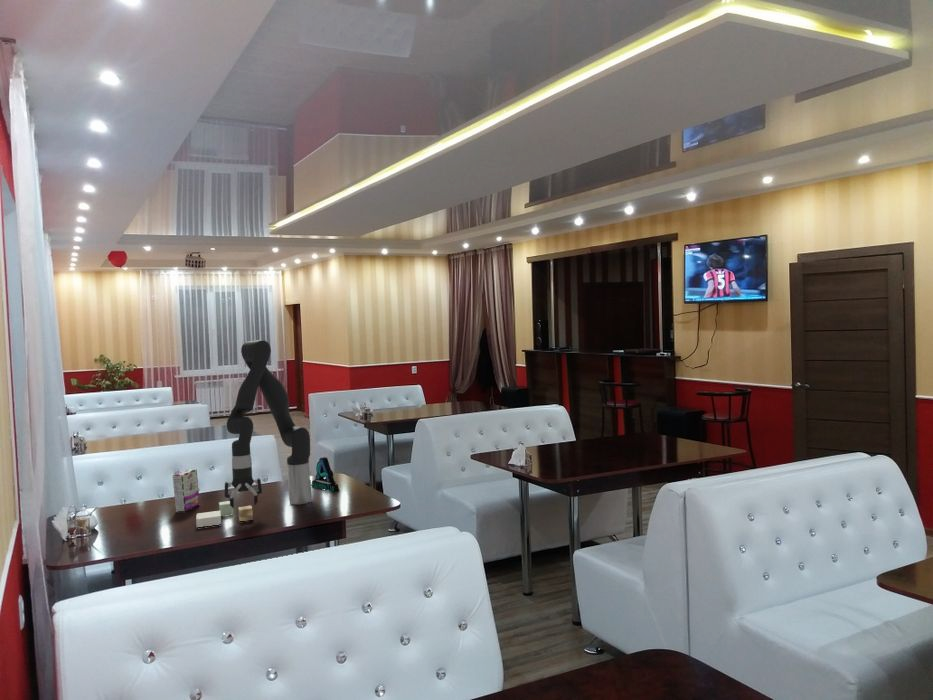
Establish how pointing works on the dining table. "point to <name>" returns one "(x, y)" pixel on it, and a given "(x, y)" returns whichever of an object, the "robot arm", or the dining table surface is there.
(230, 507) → the sage cube
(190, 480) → the candy bar box
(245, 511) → the oak cube
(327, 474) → the decorative sign
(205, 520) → the cream block
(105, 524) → the dining table surface
